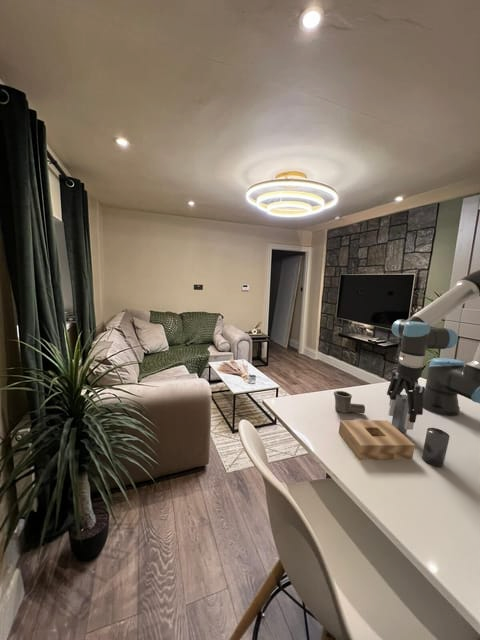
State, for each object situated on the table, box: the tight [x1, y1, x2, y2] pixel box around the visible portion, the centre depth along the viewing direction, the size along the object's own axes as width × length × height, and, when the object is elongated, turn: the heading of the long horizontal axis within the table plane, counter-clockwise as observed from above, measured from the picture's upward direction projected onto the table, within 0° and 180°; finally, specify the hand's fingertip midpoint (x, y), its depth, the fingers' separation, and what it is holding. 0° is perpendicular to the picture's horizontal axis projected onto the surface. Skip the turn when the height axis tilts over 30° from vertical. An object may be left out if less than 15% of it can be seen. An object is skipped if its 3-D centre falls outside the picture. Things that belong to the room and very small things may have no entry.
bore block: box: [338, 419, 416, 461], centre depth 89 cm, size 18×14×5 cm
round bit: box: [421, 427, 451, 469], centre depth 82 cm, size 6×6×10 cm
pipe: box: [333, 390, 366, 414], centre depth 110 cm, size 6×13×8 cm, turn 78°
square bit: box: [391, 393, 409, 435], centre depth 97 cm, size 4×4×14 cm
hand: (399, 421), depth 98 cm, fingers open, 8 cm apart
